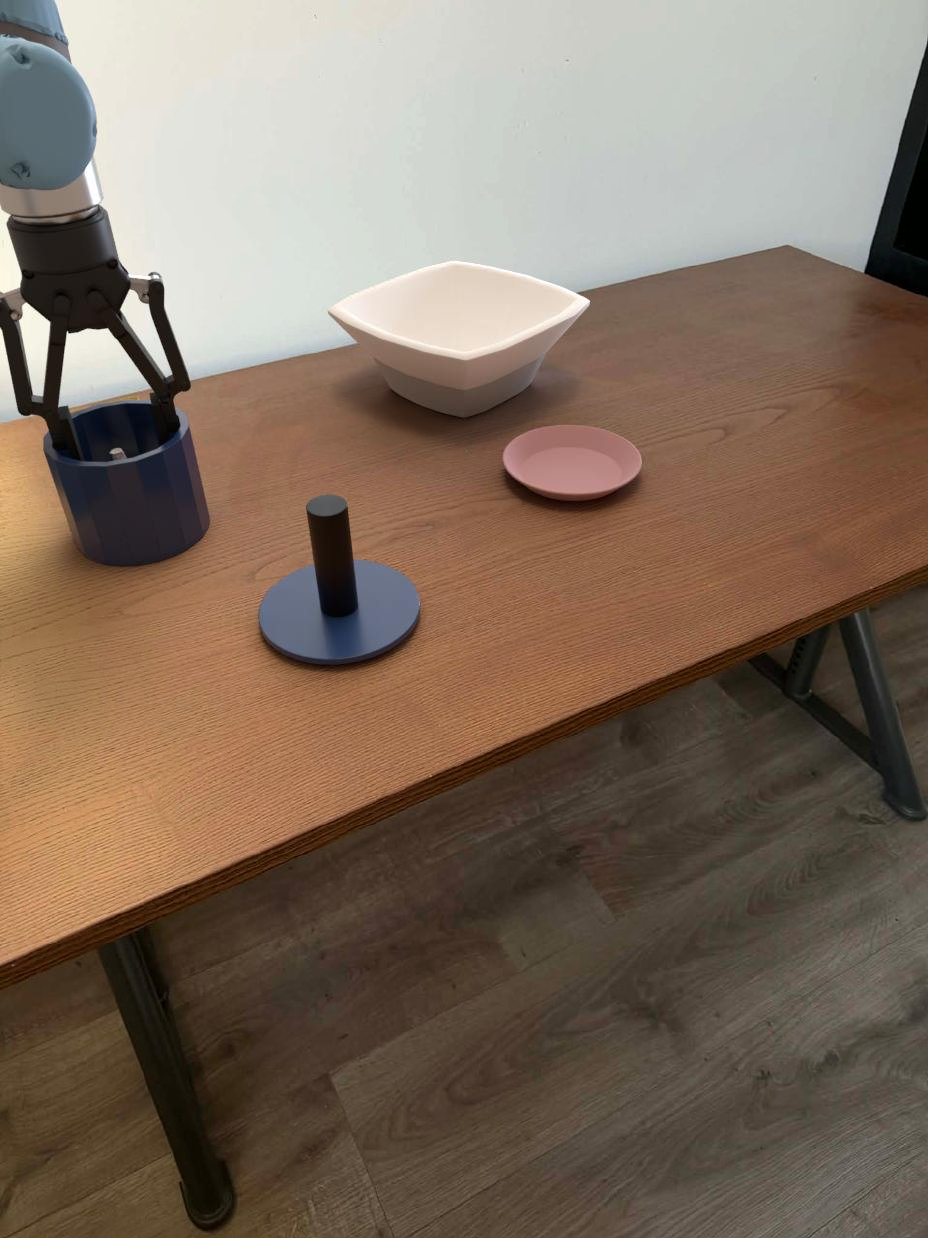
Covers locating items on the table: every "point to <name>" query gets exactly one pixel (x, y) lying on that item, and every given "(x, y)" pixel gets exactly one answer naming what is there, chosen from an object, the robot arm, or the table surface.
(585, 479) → the plate
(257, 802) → the table surface
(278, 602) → the lid
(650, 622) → the table surface
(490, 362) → the bowl
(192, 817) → the table surface
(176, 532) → the pot
